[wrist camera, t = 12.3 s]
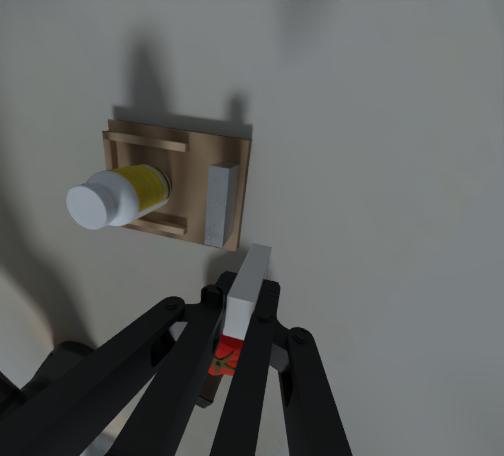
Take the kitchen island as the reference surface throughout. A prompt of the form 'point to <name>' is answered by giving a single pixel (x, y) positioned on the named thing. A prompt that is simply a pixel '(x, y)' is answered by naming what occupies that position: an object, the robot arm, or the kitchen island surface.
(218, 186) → the jaw
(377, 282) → the kitchen island surface
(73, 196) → the pill bottle
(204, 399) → the electronic device
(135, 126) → the board
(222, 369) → the tomato
